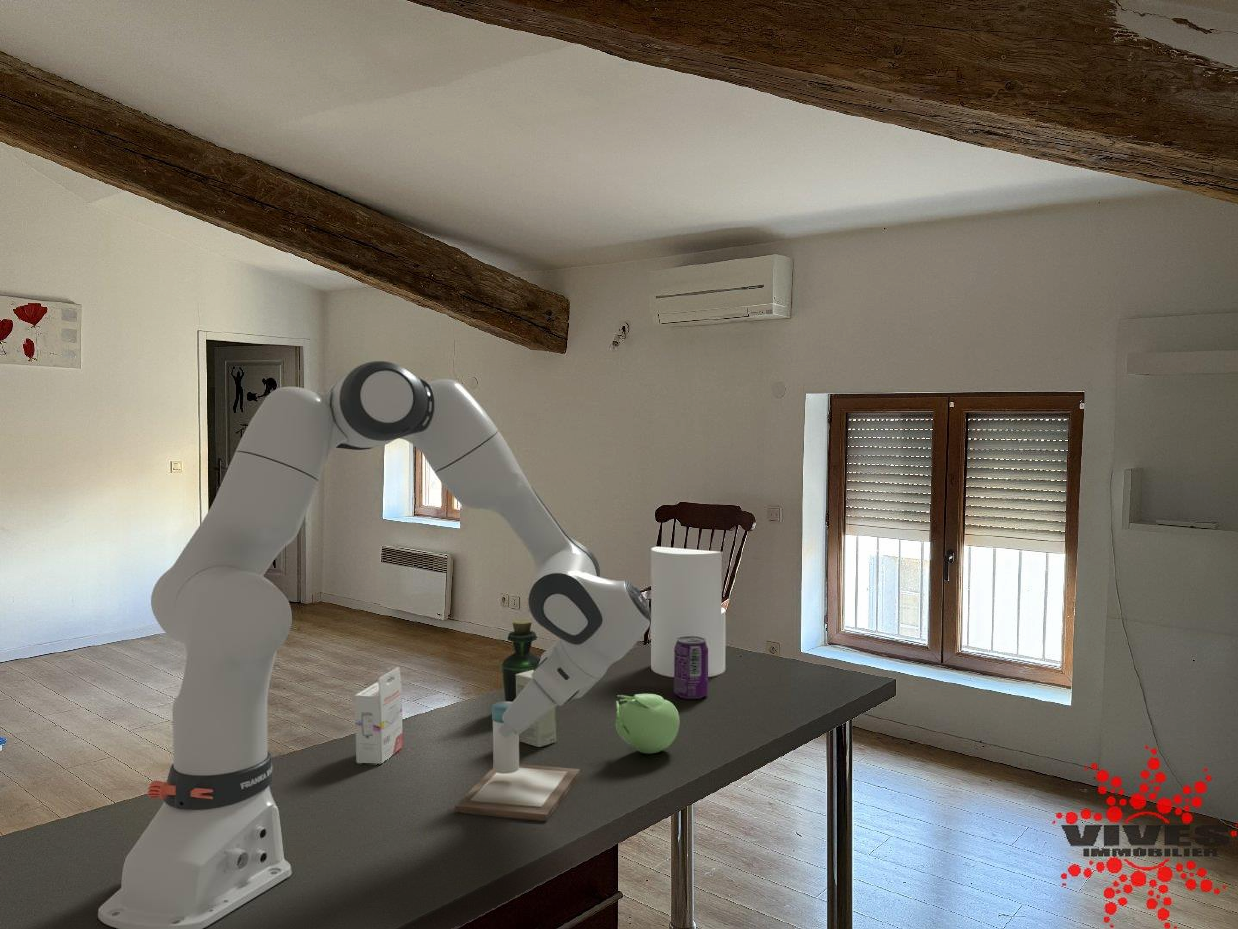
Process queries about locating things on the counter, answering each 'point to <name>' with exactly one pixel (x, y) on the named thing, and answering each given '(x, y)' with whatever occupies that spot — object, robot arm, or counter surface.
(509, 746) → the white bottle teal cap
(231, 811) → the robot arm
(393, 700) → the ink cartridge box
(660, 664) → the cylinder
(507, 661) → the potion bottle
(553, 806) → the writing board
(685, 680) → the beverage can
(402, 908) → the counter surface
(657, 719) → the green eggplant
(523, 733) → the skincare box
